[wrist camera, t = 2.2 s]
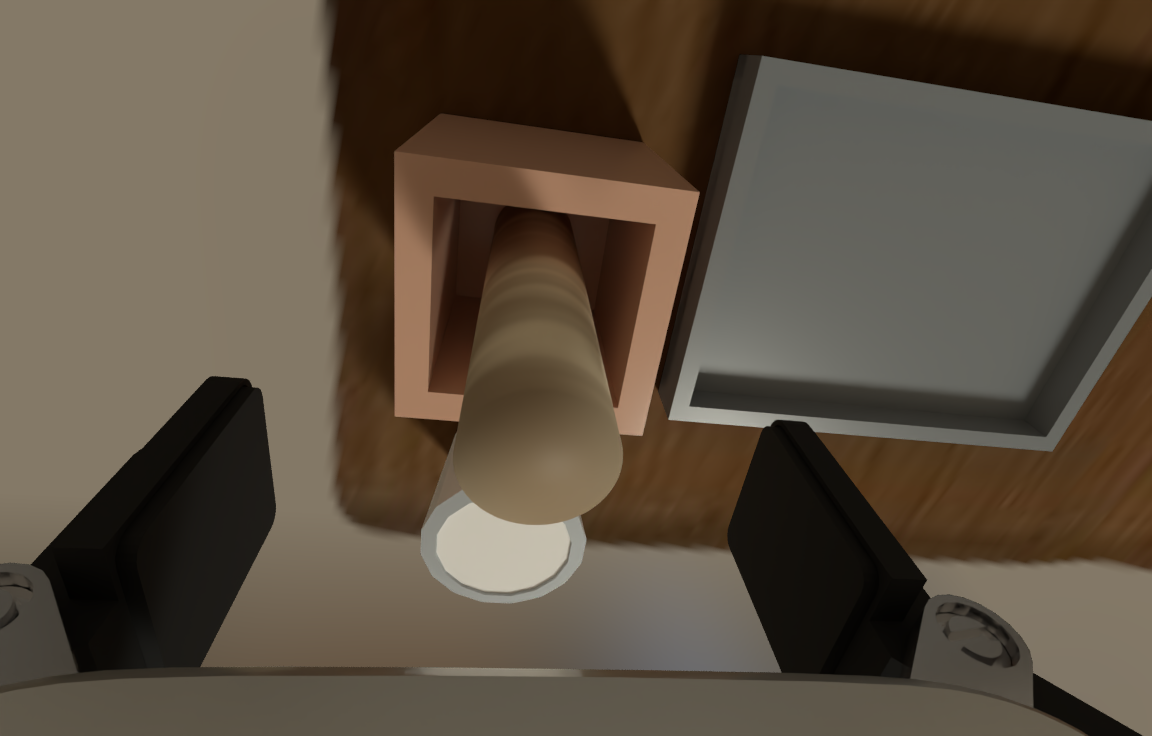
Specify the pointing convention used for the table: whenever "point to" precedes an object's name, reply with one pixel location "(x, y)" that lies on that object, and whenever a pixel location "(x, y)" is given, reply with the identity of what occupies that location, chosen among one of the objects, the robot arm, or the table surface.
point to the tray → (909, 260)
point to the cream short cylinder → (495, 548)
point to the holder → (545, 182)
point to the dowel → (536, 382)
